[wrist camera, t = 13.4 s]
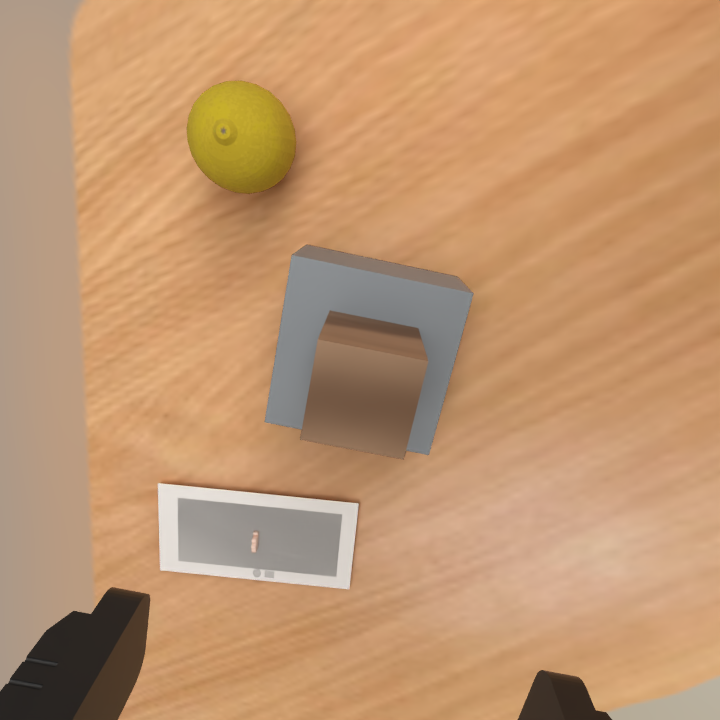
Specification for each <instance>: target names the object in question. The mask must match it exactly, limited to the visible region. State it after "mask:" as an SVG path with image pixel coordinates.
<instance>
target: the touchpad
mask: <svg viewBox="0 0 720 720" xmlns="http://www.w3.org/2000/svg"><path fill="white" fill-rule="evenodd" d="M158 506H159V544H160V570H163V571H173V572H183V573H193V574H203V575H213V576H222V577H232V578H242V579H252V580H262V581H272V582H282V583H292V584H301V585H311V586H321V587H331V588H341V589H349V588H350V579H351V569H352V560H353V551H354V542H355V533H356V524H357V515H358V506H359V503H350V502H341V501H331V500H321V499H311V498H301V497H291V496H281V495H271V494H262V493H252V492H242V491H232V490H222V489H212V488H202V487H192V486H182V485H173V484H163V483H158Z"/></svg>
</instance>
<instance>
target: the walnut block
mask: <svg viewBox="0 0 720 720" xmlns="http://www.w3.org/2000/svg"><path fill="white" fill-rule="evenodd" d="M427 365H428V358H427V355H426V352H425V348H424V345H423V342H422V339H421V335H420V332H419V329H418V328H416V327H411V326H406V325H401V324H396V323H391V322H386V321H381V320H376V319H371V318H366V317H361V316H356V315H351V314H346V313H341V312H336V311H331V310H330V311H329V313H328V316H327V318H326V321H325V323H324V325H323V328H322V330H321V333H320V335H319V338H318V341H317V347H316V352H315V358H314V364H313V369H312V375H311V380H310V386H309V392H308V397H307V403H306V408H305V414H304V420H303V425H302V431H301V436H300V440H304V441H310V442H315V443H320V444H325V445H330V446H336V447H341V448H346V449H351V450H356V451H362V452H367V453H372V454H377V455H382V456H388V457H393V458H398V459H403V460H404V457H405V453H406V449H407V445H408V441H409V437H410V433H411V429H412V425H413V421H414V417H415V413H416V409H417V405H418V401H419V397H420V393H421V389H422V385H423V381H424V377H425V373H426V369H427Z"/></svg>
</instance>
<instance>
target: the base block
mask: <svg viewBox="0 0 720 720" xmlns="http://www.w3.org/2000/svg"><path fill="white" fill-rule="evenodd" d="M472 297H473V292H472V291H471V290H470V289H469V288H468V287H467V286H466V285H465V284H464V283H463V282H462V281H461V280H460V279H459V278H458V277H457V276H452V275H447V274H443V273H438V272H433V271H429V270H424V269H419V268H414V267H410V266H405V265H400V264H396V263H391V262H386V261H381V260H377V259H372V258H367V257H363V256H358V255H353V254H348V253H344V252H339V251H334V250H330V249H325V248H320V247H315V246H311V245H305V246H304V247H302V248H301V249H299V250H298V251H297V252H295V253H294V254H293V255H292V257H291V263H290V269H289V275H288V282H287V288H286V294H285V300H284V306H283V312H282V318H281V325H280V331H279V337H278V343H277V349H276V355H275V362H274V368H273V374H272V380H271V386H270V392H269V398H268V405H267V411H266V417H265V422H266V423H271V424H276V425H281V426H286V427H291V428H296V429H301V430H302V425H303V420H304V414H305V408H306V403H307V397H308V392H309V386H310V380H311V375H312V369H313V364H314V358H315V352H316V347H317V341H318V338H319V335H320V333H321V330H322V328H323V325H324V323H325V321H326V318H327V316H328V313H329V311H330V310H331V311H336V312H341V313H346V314H351V315H356V316H361V317H366V318H371V319H376V320H381V321H386V322H391V323H396V324H401V325H406V326H411V327H416V328H418V329H419V332H420V335H421V339H422V342H423V345H424V348H425V352H426V355H427V358H428V365H427V369H426V373H425V377H424V381H423V385H422V389H421V393H420V397H419V401H418V405H417V409H416V413H415V417H414V421H413V425H412V429H411V433H410V437H409V441H408V445H407V449H406V451H411V452H416V453H421V454H426V455H429V453H430V449H431V445H432V442H433V438H434V434H435V431H436V427H437V424H438V420H439V416H440V413H441V409H442V405H443V402H444V398H445V395H446V391H447V387H448V384H449V380H450V377H451V373H452V369H453V366H454V362H455V358H456V355H457V351H458V348H459V344H460V340H461V337H462V333H463V330H464V326H465V322H466V319H467V315H468V311H469V308H470V304H471V301H472Z"/></svg>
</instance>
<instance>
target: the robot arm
mask: <svg viewBox="0 0 720 720" xmlns="http://www.w3.org/2000/svg"><path fill="white" fill-rule="evenodd" d="M149 607H150V595H149V594H145V593H140V592H135V591H129V590H124V589H119V588H113V587H112V588H110V589H109V590H108V591H107V592H106V593H105V594H104V596H103V597H102V599H101V600H100V602H99V603H98V605H97V606H96V608H95V609H94V611H93V612H92V614H87V613H82V612H77V611H73V612H71V613H70V614H69V615H67V616H66V617H65V618H63V619H62V620H60V621H59V622H58V623H56V624H55V625H53V626H52V627H51V628H49V629H48V630H47V631H46V632H45V633H44V634H43V636H42V637H41V638H40V640H39V641H38V642H37V644H36V645H35V646H34V648H33V649H32V650H31V652H30V653H29V654H28V655H27V658H26V660H25V662H22V664H21V665H20V666H19V668H18V669H17V670H16V671H15V673H14V674H13V675H12V677H11V678H10V681H9V683H8V684H6V685H5V686H4V687H3V689H2V690H1V691H0V720H118V718H119V716H120V714H121V712H122V710H123V708H124V706H125V704H126V702H127V700H128V698H129V696H130V694H131V692H132V690H133V687H134V685H135V683H136V681H137V678H138V675H139V673H140V670H141V666H142V663H143V659H144V655H145V648H146V638H147V627H148V617H149ZM518 720H612V719H611V718H610V717H609V715H608V714H607V713H606V712H601V711H596V710H595V708H594V706H593V703H592V701H591V698H590V696H589V694H588V691H587V689H586V687H585V685H584V683H583V681H582V680H581V679H580V678H579V677H576V676H570V675H565V674H560V673H554V672H549V671H544V670H541V671H539V672H538V673H537V675H536V677H535V679H534V682H533V684H532V687H531V689H530V692H529V694H528V696H527V699H526V701H525V704H524V706H523V709H522V711H521V713H520V716H519V718H518Z"/></svg>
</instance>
